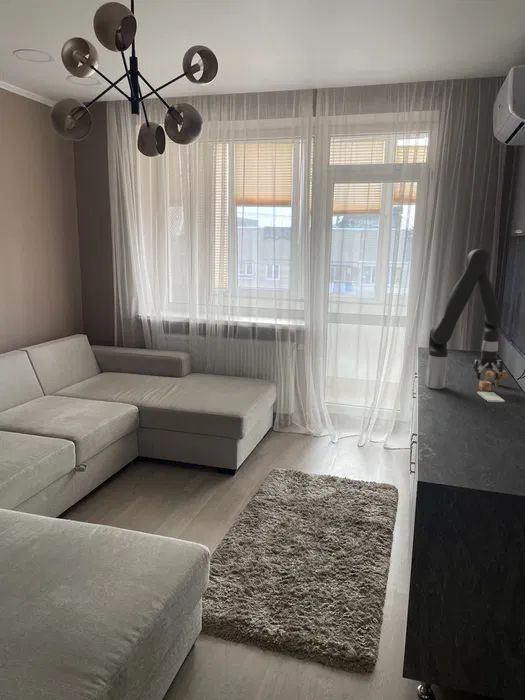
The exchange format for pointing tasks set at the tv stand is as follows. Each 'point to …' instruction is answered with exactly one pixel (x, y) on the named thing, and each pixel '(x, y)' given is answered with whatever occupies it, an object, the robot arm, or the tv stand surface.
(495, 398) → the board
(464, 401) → the tv stand surface
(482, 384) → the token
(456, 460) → the tv stand surface
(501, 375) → the lion figurine
